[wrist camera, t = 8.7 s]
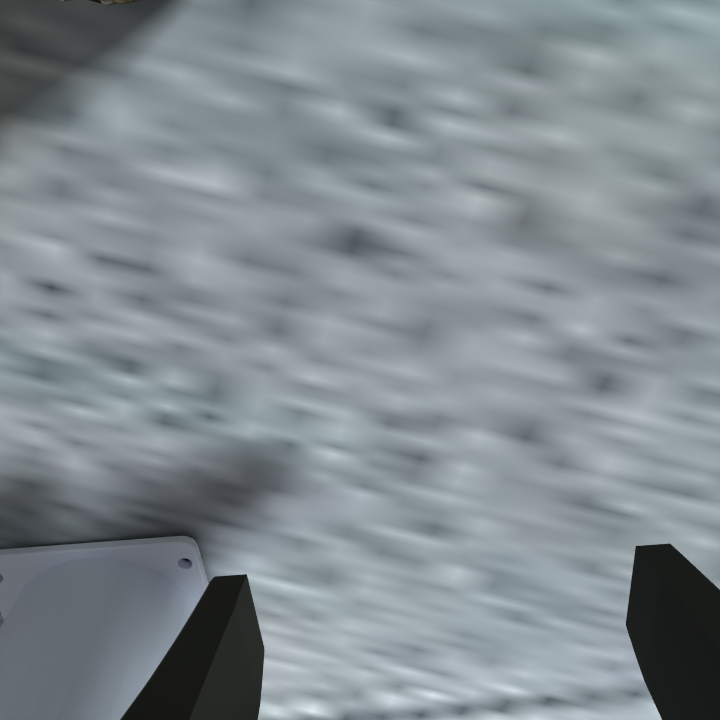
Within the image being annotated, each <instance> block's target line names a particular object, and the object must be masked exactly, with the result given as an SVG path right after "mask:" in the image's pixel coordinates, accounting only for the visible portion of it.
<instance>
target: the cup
mask: <svg viewBox="0 0 720 720" xmlns="http://www.w3.org/2000/svg"><path fill="white" fill-rule="evenodd" d="M59 1H72V0H59ZM90 1H93V2H97V3H101V4H108V5H112V4H123V3H130V2H136V1H139V0H90Z"/></svg>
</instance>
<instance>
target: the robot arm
mask: <svg viewBox="0 0 720 720" xmlns="http://www.w3.org/2000/svg"><path fill="white" fill-rule="evenodd" d="M182 558H186V559H189V560H191V561H185V560H183V559H182ZM0 574H1V575H0V613H1V615H2V617H3V619H4V622H3V624H2V625H1V627H0V720H257V719H258V714H259V708H260V699H261V688H262V676H263V662H264V645H263V641H262V637H261V633H260V628H259V624H258V620H257V616H256V612H255V607H254V603H253V599H252V595H251V590H250V586H249V582H248V578H247V574H245V575H232V576H218V577H214V578H213V579H212V580H211V581H210V583H209V584H208V580H207V576H206V573H205V569H204V565H203V562H202V558H201V555H200V551H199V547H198V545H197V543H196V541H195V540H193V539H192V538H190V537H187V536H173V537H160V538H146V539H133V540H120V541H107V542H93V543H80V544H67V545H54V546H40V547H27V548H14V549H0ZM626 627H627V630H628V633H629V636H630V639H631V642H632V646H633V649H634V652H635V655H636V658H637V661H638V664H639V666H640V669H641V672H642V675H643V678H644V681H645V683H646V685H647V687H648V690H649V692H650V694H651V696H652V699H653V701H654V703H655V705H656V707H657V709H658V712H659V714H660V716H661V718H662V720H720V590H719V589H718V588H717V587H716V586H715V585H714V584H713V583H712V582H711V581H710V580H709V579H708V578H706V577H705V576H704V575H703V574H702V573H701V572H700V571H699V570H698V569H697V568H696V567H695V566H694V565H693V564H692V563H690V562H689V561H688V560H687V559H686V558H685V557H684V556H683V555H682V554H681V553H680V552H679V551H678V550H676V549H675V548H674V547H673V546H672V545H671V544H659V545H645V546H636V550H635V558H634V565H633V573H632V581H631V588H630V596H629V604H628V612H627V619H626Z"/></svg>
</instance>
